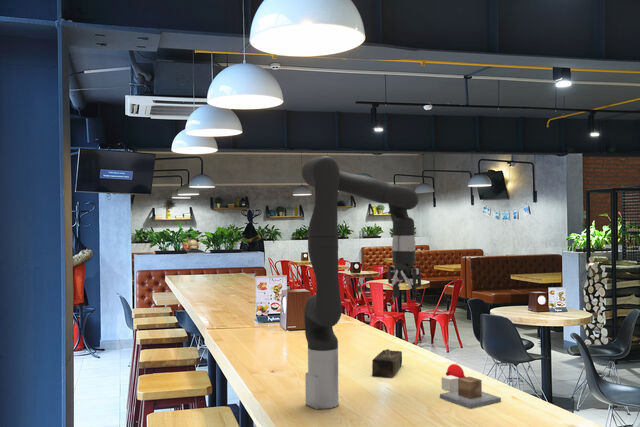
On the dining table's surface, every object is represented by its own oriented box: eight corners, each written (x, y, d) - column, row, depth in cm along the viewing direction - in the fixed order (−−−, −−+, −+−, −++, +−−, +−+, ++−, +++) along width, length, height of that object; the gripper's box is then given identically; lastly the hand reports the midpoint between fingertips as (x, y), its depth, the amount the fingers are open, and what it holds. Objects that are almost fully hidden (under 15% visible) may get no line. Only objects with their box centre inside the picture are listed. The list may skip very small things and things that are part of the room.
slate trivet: (469, 408, 178) (469, 404, 178) (439, 397, 189) (439, 393, 189) (500, 401, 185) (500, 397, 185) (470, 391, 196) (470, 387, 196)
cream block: (449, 391, 196) (449, 379, 196) (441, 388, 200) (441, 376, 200) (459, 390, 198) (459, 377, 198) (451, 387, 202) (450, 375, 202)
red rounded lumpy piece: (443, 370, 212) (442, 364, 207) (459, 364, 212) (458, 358, 207) (452, 391, 207) (451, 386, 202) (468, 385, 207) (468, 380, 202)
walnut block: (469, 398, 184) (469, 382, 184) (458, 394, 188) (458, 378, 188) (481, 396, 186) (481, 379, 186) (470, 392, 191) (469, 376, 191)
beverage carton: (403, 366, 232) (402, 349, 232) (393, 379, 214) (393, 360, 214) (382, 364, 234) (382, 347, 234) (371, 377, 216) (371, 358, 216)
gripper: (381, 249, 202) (382, 297, 202) (408, 250, 190) (409, 302, 189) (399, 248, 206) (400, 295, 206) (427, 249, 193) (427, 300, 193)
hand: (404, 298), depth 198 cm, fingers open, 8 cm apart
